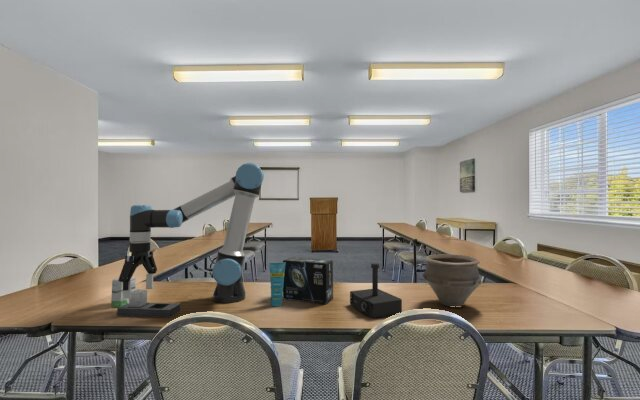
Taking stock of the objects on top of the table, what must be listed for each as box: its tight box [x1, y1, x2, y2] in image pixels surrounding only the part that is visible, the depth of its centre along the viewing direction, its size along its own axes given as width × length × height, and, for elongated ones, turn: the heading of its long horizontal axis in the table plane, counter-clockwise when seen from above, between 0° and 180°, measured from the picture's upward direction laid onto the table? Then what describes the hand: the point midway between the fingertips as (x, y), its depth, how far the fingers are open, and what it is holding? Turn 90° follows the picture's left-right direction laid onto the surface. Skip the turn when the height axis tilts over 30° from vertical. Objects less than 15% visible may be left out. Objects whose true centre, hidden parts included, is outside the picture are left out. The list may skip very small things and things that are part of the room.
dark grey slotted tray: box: [116, 302, 182, 319], centre depth 121 cm, size 22×8×3 cm, turn 86°
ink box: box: [110, 276, 137, 308], centre depth 133 cm, size 9×5×12 cm, turn 171°
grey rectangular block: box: [129, 288, 148, 308], centre depth 122 cm, size 4×4×9 cm
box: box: [282, 257, 334, 305], centre depth 143 cm, size 23×10×19 cm, turn 67°
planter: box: [422, 253, 483, 307], centre depth 135 cm, size 25×24×22 cm
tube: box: [268, 261, 286, 307], centre depth 133 cm, size 7×5×19 cm, turn 103°
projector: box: [349, 262, 403, 319], centre depth 128 cm, size 19×17×20 cm
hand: (138, 293), depth 122 cm, fingers open, 13 cm apart
